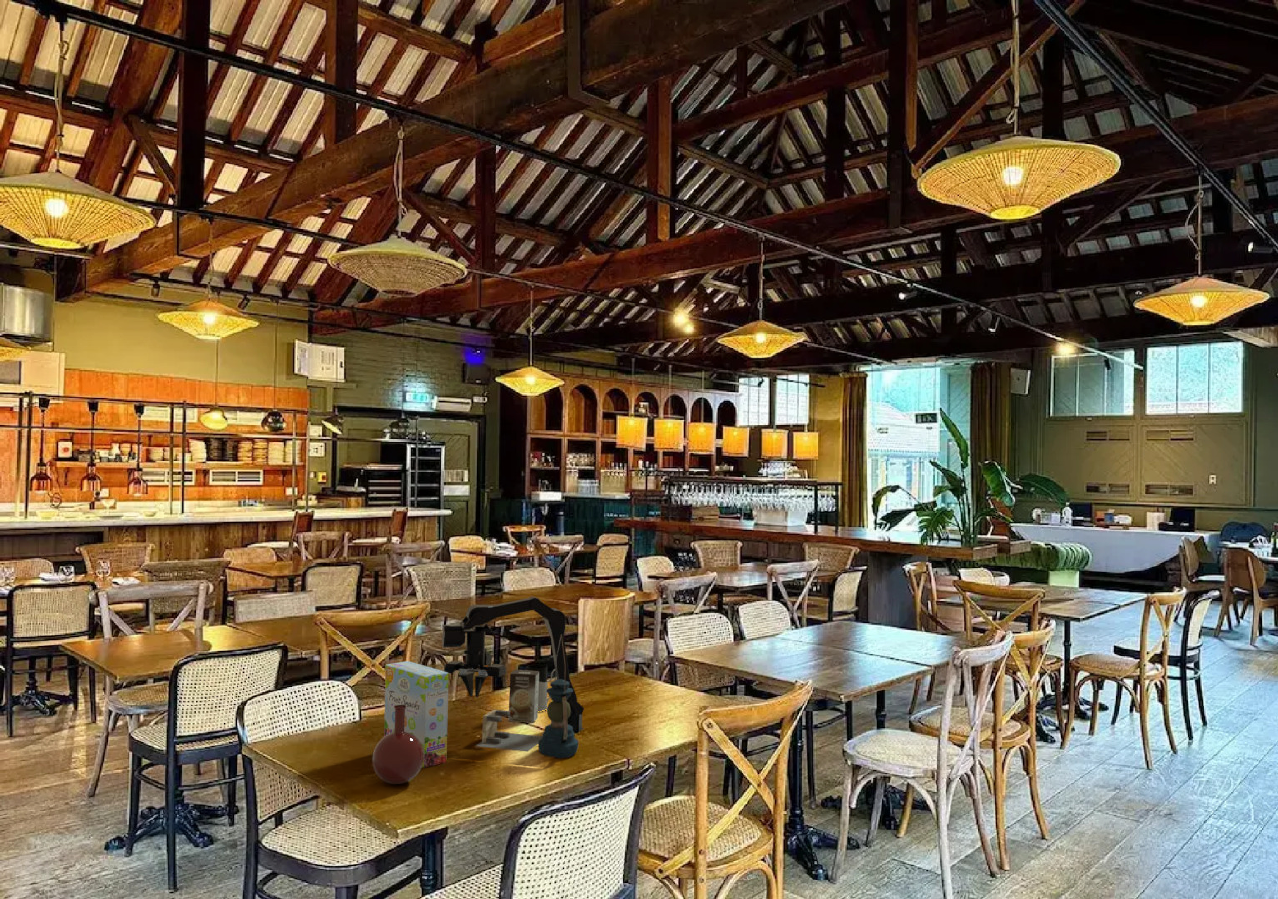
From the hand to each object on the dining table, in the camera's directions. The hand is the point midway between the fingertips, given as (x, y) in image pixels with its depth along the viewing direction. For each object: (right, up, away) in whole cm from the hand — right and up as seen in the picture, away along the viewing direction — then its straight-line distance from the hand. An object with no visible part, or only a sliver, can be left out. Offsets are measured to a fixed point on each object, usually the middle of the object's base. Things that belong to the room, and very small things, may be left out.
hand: (474, 696), depth 272 cm
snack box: (-14, -12, -20) cm, 27 cm away
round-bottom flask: (-12, -11, -42) cm, 45 cm away
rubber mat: (+12, -13, -4) cm, 18 cm away
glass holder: (+17, -15, +38) cm, 45 cm away
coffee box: (+12, -15, +23) cm, 30 cm away
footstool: (+7, -13, -3) cm, 15 cm away
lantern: (+27, -13, -13) cm, 33 cm away
